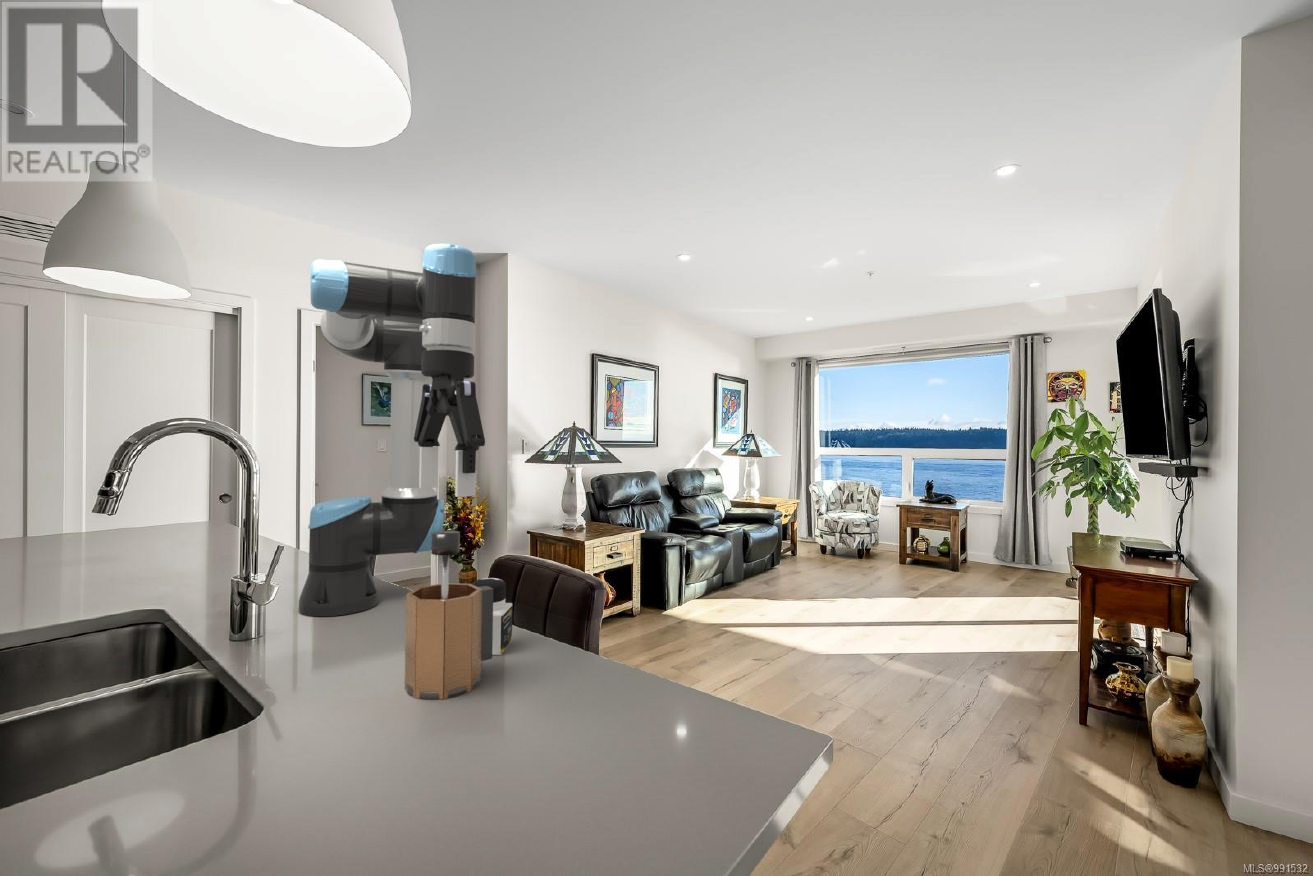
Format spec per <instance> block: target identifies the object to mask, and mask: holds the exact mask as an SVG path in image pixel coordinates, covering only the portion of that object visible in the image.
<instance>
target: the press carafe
mask: <svg viewBox="0 0 1313 876" xmlns="http://www.w3.org/2000/svg"><path fill="white" fill-rule="evenodd" d="M404 641H405V650H404V656H405V659H404V660H405V661H404V690H405V691H406V693H407V694H408V695H409V696H410V697H413V698H414V699H418V700H426V701H427V700H429V701H430V700H431V701H433V700H441V701H442V700H448V699H451V698H452V699H453V698H456V697H460V696H462V695H464V694H467V693H470V692H472V691H473V690H474V689H475V688H477V686H478V685H479V683H480V681H481V677H482V671H481V670H482V662H484V661H488V660H492V659H493V655H492V644H493V588H490V587H488V586H482V587H476V586H474V585H472V583H455V582H454V583H453V582H451V583H450V582H449V585H448V599H447V600H441V583H438V584H437V583H435V584H431V585H424V586H419V587H416V588H414V589H412V590H411V591H409V592H408V593H406V594H405V640H404Z"/></svg>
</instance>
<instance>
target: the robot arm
mask: <svg viewBox="0 0 1313 876" xmlns="http://www.w3.org/2000/svg"><path fill="white" fill-rule="evenodd" d="M310 265H311V266H310V304H311V306H312V307H313V308H314V309H316V310H321V311H322V310H323V311H324V312H323V313H322V315H321V318H320V331H321V335H322V336H323V339H325V341H326V342H327V344H329V345H330V347H332V348H333V349H335V350H337V351H338V352H340V353H342V354H344V355H346V356H348V357H351V358H353V359H355V360H360V361H365V362H371V363H382V364H384V365H383V372H384V373H385V374H386V376H387V377H389V378H390V382H391V384H390V385H391V389H390V391H391V392H390V431H389V432H390V441H389V442H390V443H389V444H390V445H389V447H390V448H389V485H388V487H387V488H386V489H385V490H384V491H383V492H382V493H381V501H378V502H372V498H371V497H370V496H368V495H361V496H356V495H355V496H348V497H341V498H340V497H339V498H336V499H335V498H334V499H331V500H326V501H322V502H319V503H316V504H314V506H312V508H311V510H310V512H309V513H310V514H309V523H308V524H309V525H308V530H309V544H308V547H309V548H308V549H309V552H308V575H307V578H306V581H305V583H304V585H303V588H302V590H301V593H300V596H299V599H298V613H300V614H302V615H303V616H310V617H335V616H342V615H343V616H344V615H350V614H356V613H359V612H364V611H367V610H369V609H372V608H374V607H375V606H377V605H378V603H379V592H378V588H377V585H376V582H375V580H374V576H373V574H372V571H371V566H370V563H371V562H370V561H371V557H372V556H382V555H383V556H384V555H396V554H397V555H398V554H399V555H400V554H410V553H411V554H412V553H413V554H418V553H422V552H430V551H431V540H432V533H433V532H437V531H444V530H443V529H444V522H445V504H444V502H443V500H441V499H439V498H438V492H437V490H434V488H435V489H437V488H438V487H439V450H440V449H439V447H440V446H441V444H440V441H439V436H440V434H441V431H442V428H443V426H444V423H445V420H446V418H447V416H448V417H449V421H450V424H451V426H452V430H453V434H454V436H455V438H456V442H457V444H456V445H455V447H454V451H455V479H454V480H455V485H454V487H455V488H454V490H455V491H454V495H455V496H454V497H457V498H461V497H462V498H463V497H476V496H477V495H476V491H477V489H476V488H477V486H476V485H477V451H479V448H480V447H484V446H485V445H486V439H485V434H484V428H483V424H482V420H481V414H480V409H479V405H478V400H477V393H476V391H477V390H476V388H477V387H476V386H477V385H476V382H475V381H467V379H472V378H473V377H475V355H474V354H473V353H472V352H473V351H474V350H475V349H476V324H475V323H476V322H475V321H476V320H475V319H476V317H475V316H476V287H477V285H476V282H477V276H478V272H477V268H476V267H477V265H476V255H475V254H474V252H473V251H472V250H470V249H468V248H467V247H465V246H460V245H456V244H452V243H433V244H430V245H428V246H426V247H425V248H424V250H423V257H422V263H421V268H422V272H417V271H411V270H403V269H402V270H401V269H395V268H387V267H381V266H373V265H366V264H360V263H359V264H358V263H354V262H353V263H352V262H347V261H346V262H345V261H342V260H338V259H336V260H329V259H328V260H327V259H316V260H313V261H312V263H311V264H310Z"/></svg>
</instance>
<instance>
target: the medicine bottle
mask: <svg viewBox="0 0 1313 876" xmlns="http://www.w3.org/2000/svg"><path fill="white" fill-rule="evenodd" d="M471 584H472V585H474V586H476V587H482V586H488V587H490V588H493V644H492V656H501V655H502V654H503V653H504V652H505V650H506V649H507V648H508V647H509V645H510V644H511V643H512V641H513V607H514V605H513V603H512V602H506V594H507V593H506V588H507V587H506V585H507V584H506V581H504V580H502V579H500V578H495V577H487V578H479V579H477V580H475V581H472V582H471Z"/></svg>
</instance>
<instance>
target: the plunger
mask: <svg viewBox="0 0 1313 876" xmlns="http://www.w3.org/2000/svg"><path fill="white" fill-rule="evenodd" d="M460 535H461V532H460V531H457V530H442V531H437V532H433V533H432V540H431V550H430V551H431V552H430V553H431V555H433V556H441V583H440V584H441V600H447V599H448V585H449V583H450V581H449V579H450V577H449V576H450V575H449V574H450V572H449V571H450V569H449V568H450V567H449V565H450V556H451V555H456V554H459V553H460V546H461V545H460V539H461V538H460Z"/></svg>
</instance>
